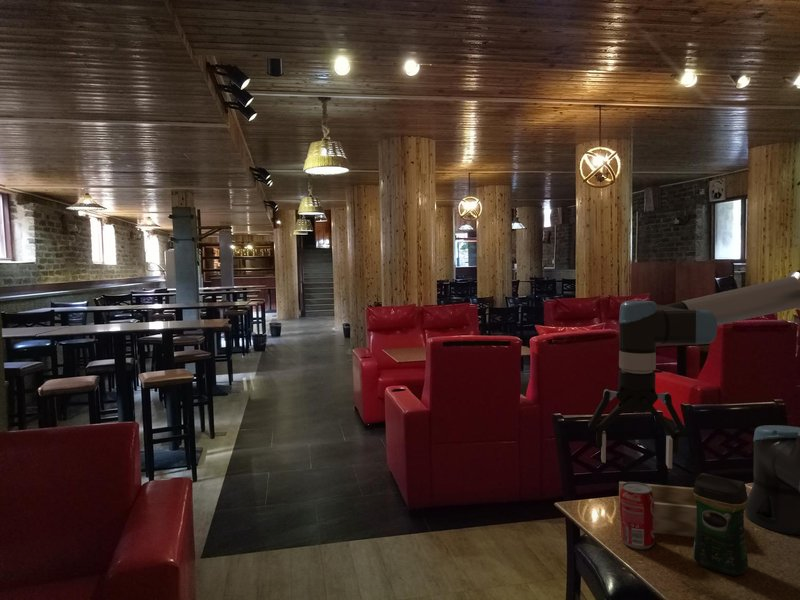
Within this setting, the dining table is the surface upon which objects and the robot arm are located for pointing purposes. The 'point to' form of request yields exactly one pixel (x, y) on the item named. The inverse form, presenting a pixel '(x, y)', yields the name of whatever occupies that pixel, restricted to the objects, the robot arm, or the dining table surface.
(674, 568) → the dining table surface
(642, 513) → the soda can
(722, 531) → the coffee jar
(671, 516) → the crate
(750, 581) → the dining table surface
